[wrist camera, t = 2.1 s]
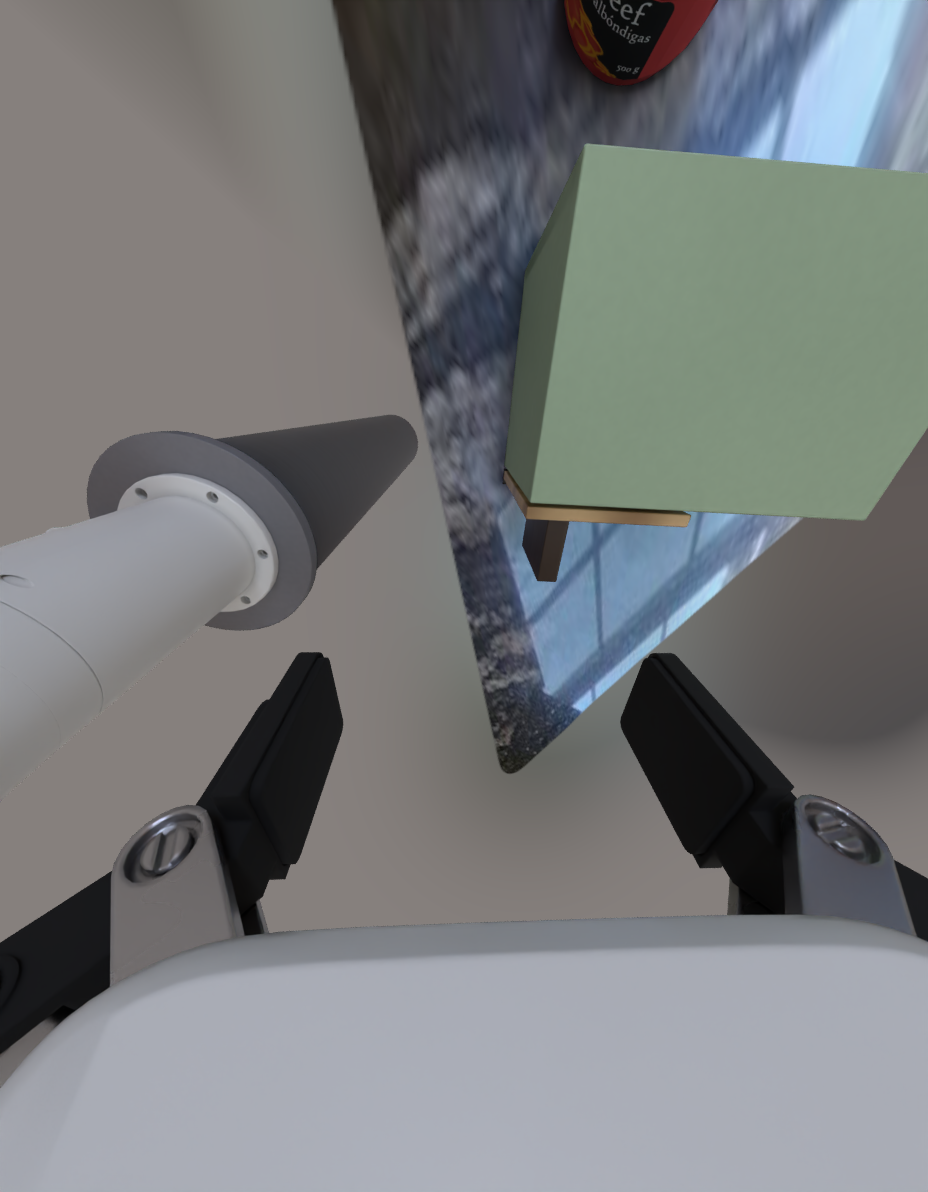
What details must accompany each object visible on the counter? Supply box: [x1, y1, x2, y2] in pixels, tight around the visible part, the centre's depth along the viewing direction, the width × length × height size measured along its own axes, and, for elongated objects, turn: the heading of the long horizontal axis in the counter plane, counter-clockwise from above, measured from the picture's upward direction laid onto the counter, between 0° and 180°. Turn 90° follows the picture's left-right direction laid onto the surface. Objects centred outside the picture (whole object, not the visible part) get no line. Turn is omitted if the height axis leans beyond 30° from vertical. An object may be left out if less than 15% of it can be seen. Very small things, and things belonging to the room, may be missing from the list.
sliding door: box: [504, 471, 691, 582], centre depth 24 cm, size 9×5×11 cm, turn 87°
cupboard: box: [503, 144, 928, 520], centre depth 20 cm, size 18×13×12 cm
